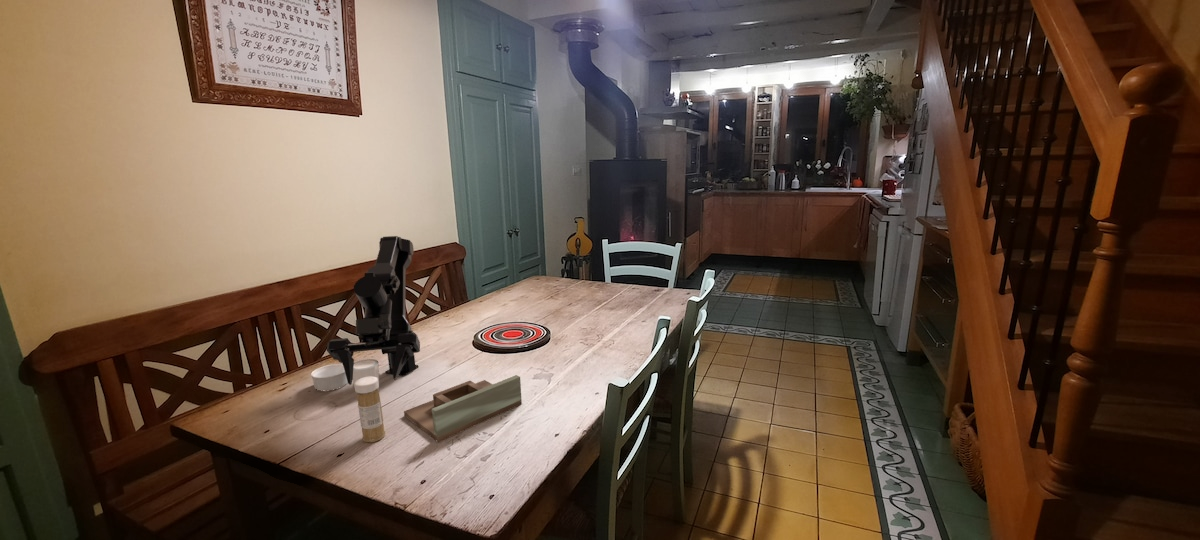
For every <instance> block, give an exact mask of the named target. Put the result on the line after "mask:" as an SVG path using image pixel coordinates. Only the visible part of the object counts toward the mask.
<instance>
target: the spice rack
mask: <svg viewBox="0 0 1200 540" xmlns="http://www.w3.org/2000/svg"><path fill="white" fill-rule="evenodd" d="M521 387H522V385H521V376H520V375H517V374H515V375H513V376H510V377H508V378H505V379H502V380H501V381H498V382H496V383H491V382H489V381H487V380H486V379H483V380H481V381H478V382H476V383H475V382H473V381H472V380H468V381H465V382H462V383H459V384H456V385H455V386H452V387H449V388H447V389H446V388H445V389H444V390H441V391H439V392H435V393H434V394H432V399H431V400H429V401H427V402H425V403H422V404H420V405H417V406H414V407H412V408H409V409H406V410H403V415H404V417H405V418H407V420H409V421H410V422H411V423H413V424H415V425H416V426H417V427H418V428H419V429H421V430H422V431H423V432H424V433H425V434H427V435H428V436H429V437H431V438H432V439H434V441H436V442H438V443H440V442H443V441H444V440H447V439H449V438H451V437H453V436H455V435H457V434H460V433H462V432H464V431H466V430H468V429H470V428H472V427H475V426H477V425H478V424H479V425H480V424H481V423H484V422H486V421H488V420H489V419H492V418H494V417H496V416H497V417H498V416H499V415H501V414H503V413H505V412H508V411H510V410H512V409H514V408H517V407H519V406H521V405H523V403H522V402H523V401H522V388H521Z"/></svg>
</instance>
